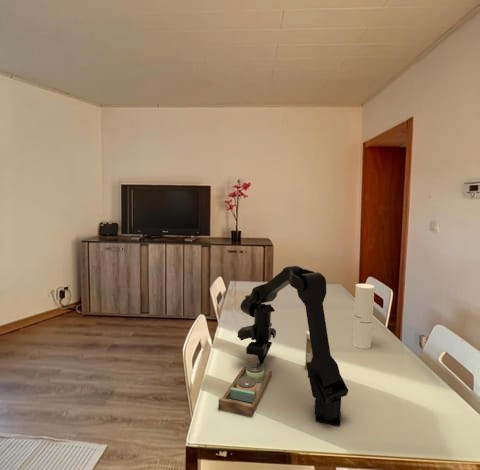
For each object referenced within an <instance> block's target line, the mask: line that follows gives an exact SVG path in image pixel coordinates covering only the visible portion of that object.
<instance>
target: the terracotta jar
mask: <svg viewBox="0 0 480 470" xmlns="http://www.w3.org/2000/svg"><path fill="white" fill-rule="evenodd" d="M236 388H238V389H243V390H248V391H253V392H255V396H256V395H257V383H256V380H255V379H254V378H252V377H248V376H246V375H244V376H243V377H240V378H239V379H238V380H237V387H236Z"/></svg>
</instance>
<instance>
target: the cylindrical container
mask: <svg viewBox="0 0 480 470" xmlns="http://www.w3.org/2000/svg"><path fill="white" fill-rule="evenodd" d="M354 294H355V295H354V307H353V308H354V312H353V313H354V314H353V326H352V327H353V328H352V346H353V347H355V348H357V349H361V350H367V349H368V350H369V349H371V347H372V334H373V333H372V331H373V317H374V305H375V303H374V302H375V301H374V299H375V285H373V284H369V283H356V284H355V293H354Z"/></svg>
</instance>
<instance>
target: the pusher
mask: <svg viewBox="0 0 480 470" xmlns="http://www.w3.org/2000/svg"><path fill="white" fill-rule="evenodd" d="M255 397H256V395H255V392H253V391H248V390H243V389H238V388H237V387H236V388H233V387H231V389H230V398H229V399H231V400H236V401H242V402H245V403H246V402H248V403H250V404H252V403H253V401H254V399H255Z"/></svg>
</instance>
